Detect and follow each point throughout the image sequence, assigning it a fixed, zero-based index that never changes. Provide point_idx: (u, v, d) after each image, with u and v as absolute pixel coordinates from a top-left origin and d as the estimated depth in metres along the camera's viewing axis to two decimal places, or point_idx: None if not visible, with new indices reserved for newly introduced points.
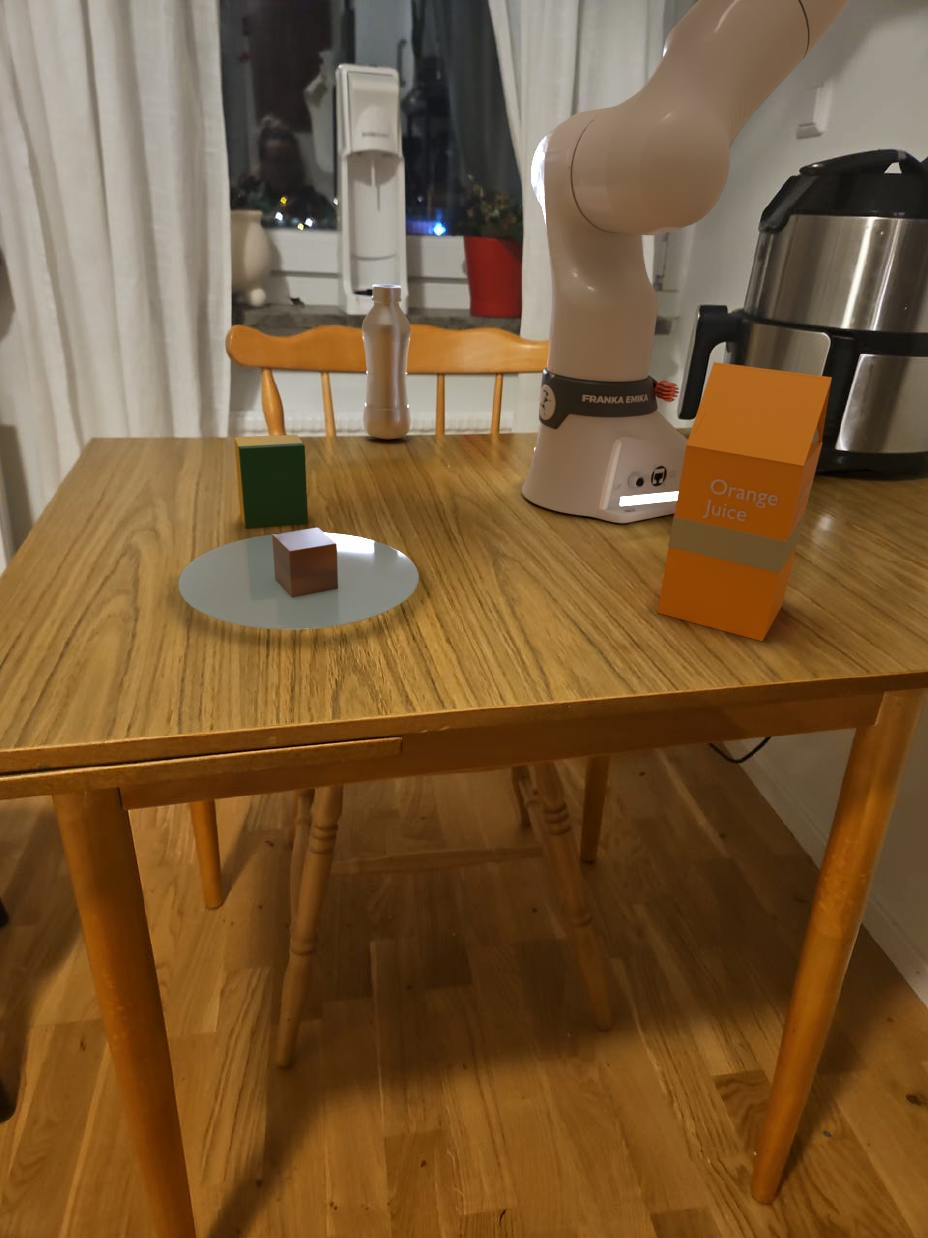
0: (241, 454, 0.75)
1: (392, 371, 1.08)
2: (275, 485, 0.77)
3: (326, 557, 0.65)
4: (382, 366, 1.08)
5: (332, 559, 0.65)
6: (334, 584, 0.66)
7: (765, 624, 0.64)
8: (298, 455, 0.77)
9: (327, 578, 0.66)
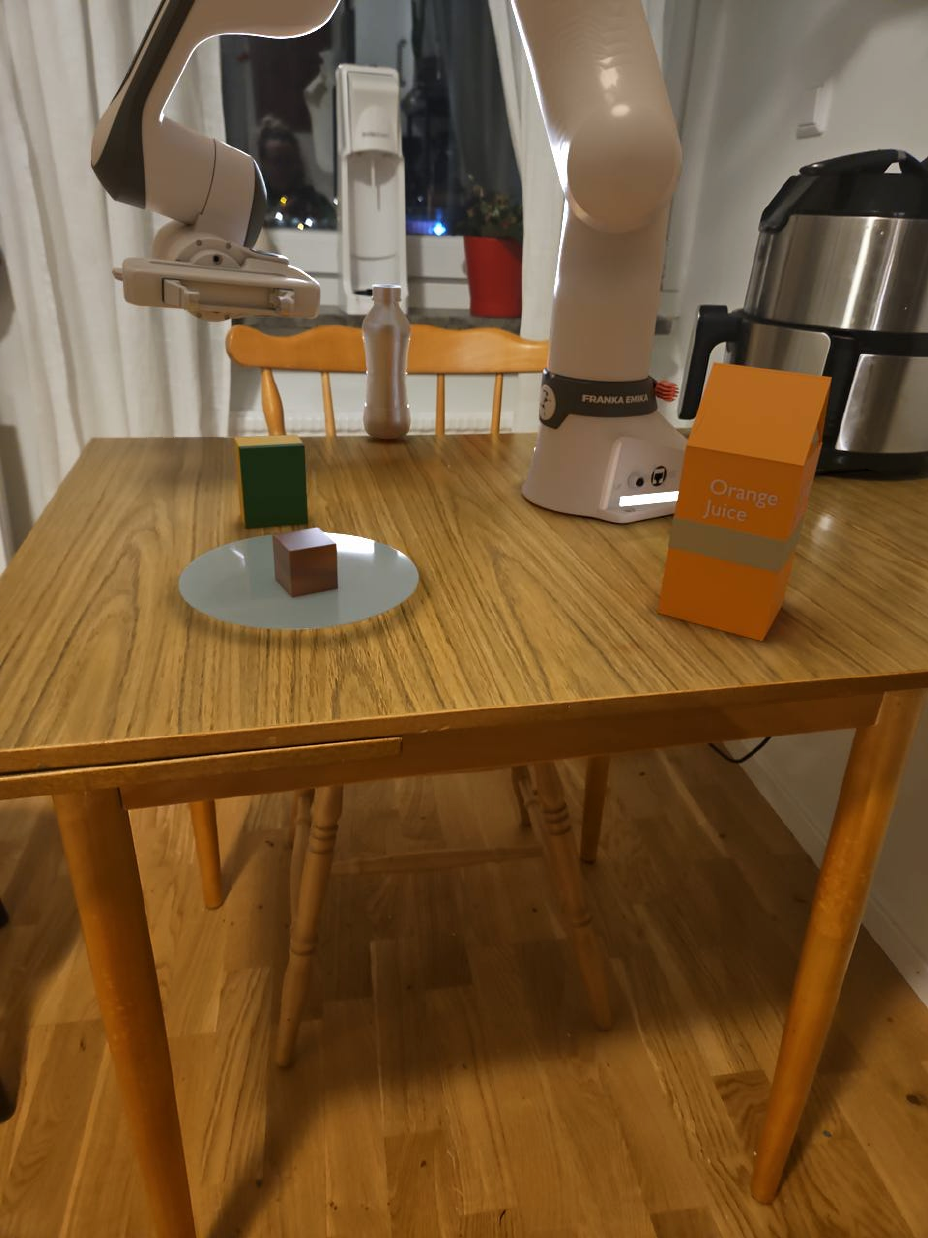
0: (241, 454, 0.75)
1: (392, 371, 1.08)
2: (275, 485, 0.77)
3: (326, 557, 0.65)
4: (382, 366, 1.08)
5: (332, 559, 0.65)
6: (334, 584, 0.66)
7: (765, 624, 0.64)
8: (298, 455, 0.77)
9: (327, 578, 0.66)
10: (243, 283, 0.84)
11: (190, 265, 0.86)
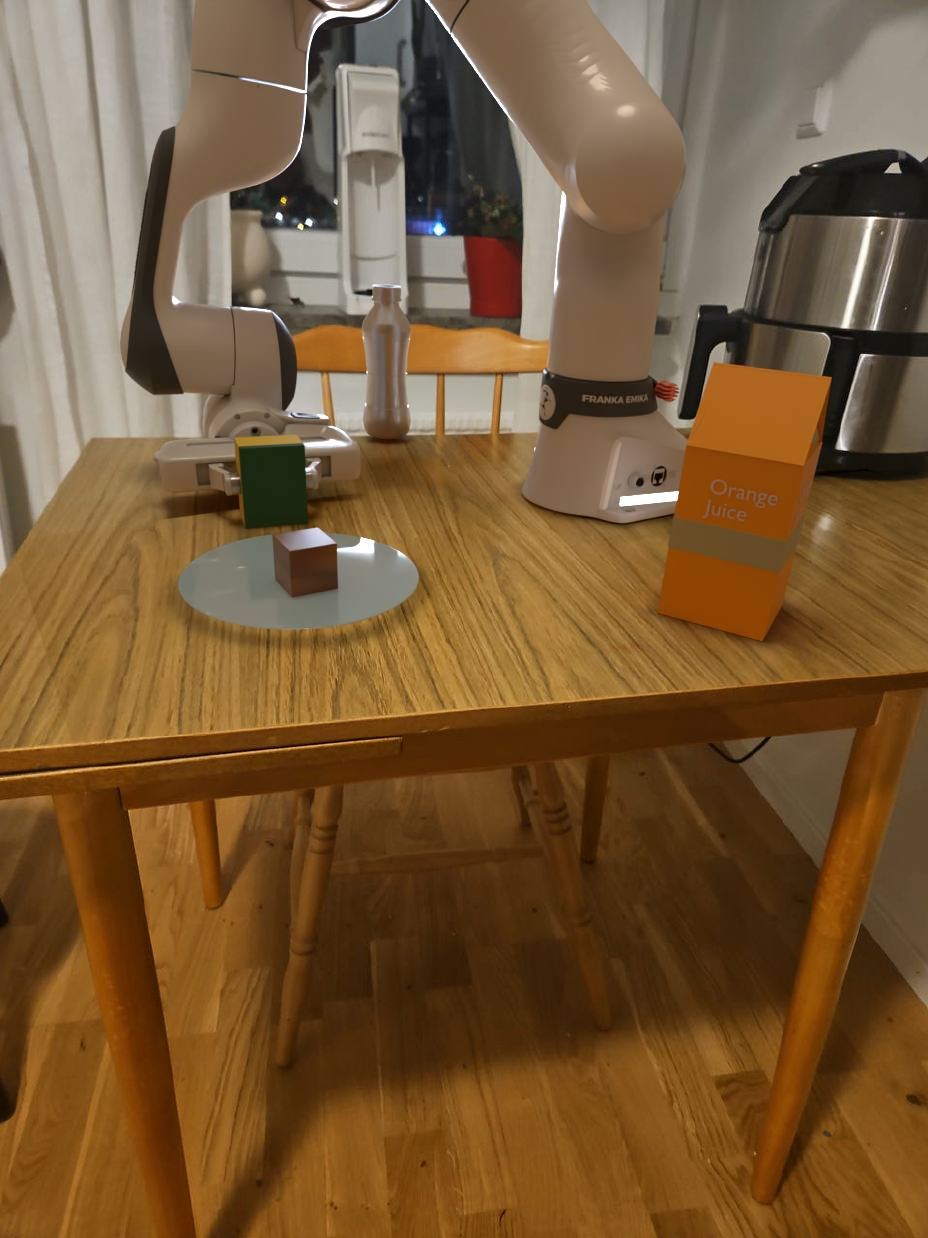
0: (241, 454, 0.75)
1: (392, 371, 1.08)
2: (275, 485, 0.77)
3: (326, 557, 0.65)
4: (382, 366, 1.08)
5: (332, 559, 0.65)
6: (334, 584, 0.66)
7: (765, 624, 0.64)
8: (298, 455, 0.77)
9: (327, 578, 0.66)
10: None
11: (228, 441, 0.85)
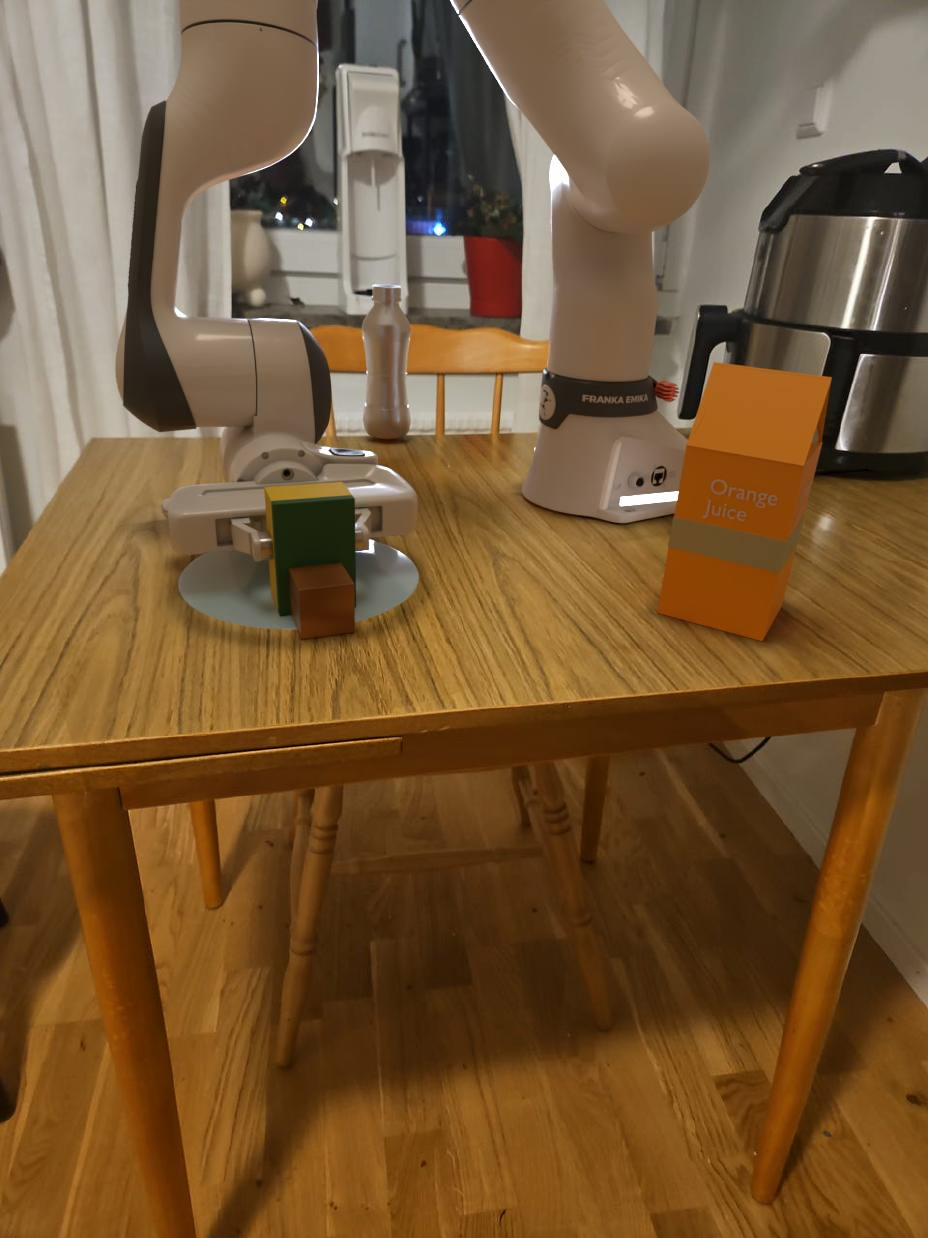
0: (275, 511, 0.58)
1: (392, 371, 1.08)
2: (317, 549, 0.60)
3: (341, 598, 0.58)
4: (382, 366, 1.08)
5: (348, 600, 0.59)
6: (350, 627, 0.60)
7: (765, 624, 0.64)
8: (346, 511, 0.60)
9: (342, 620, 0.59)
10: None
11: (254, 487, 0.68)
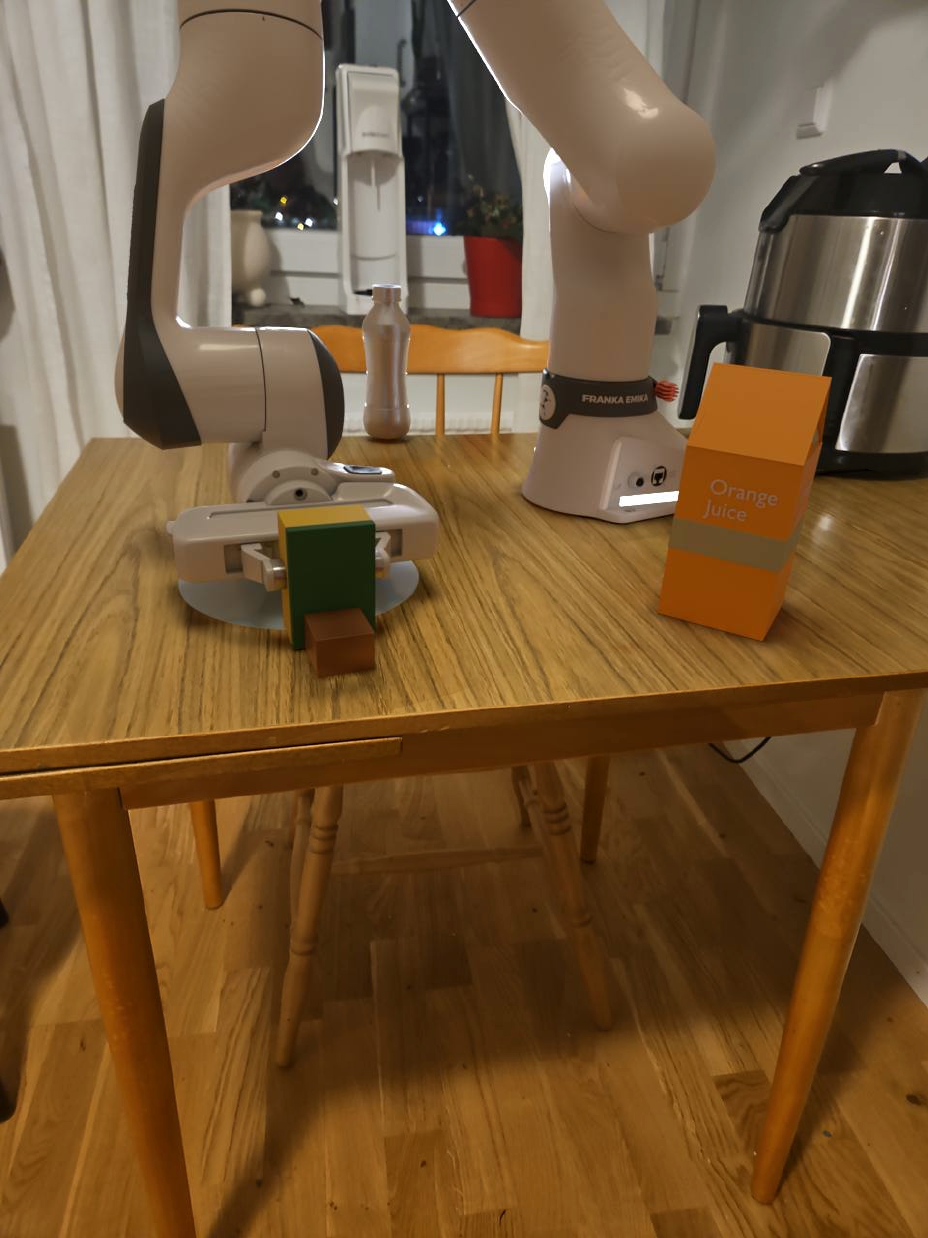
0: (289, 539, 0.53)
1: (392, 371, 1.08)
2: (334, 578, 0.56)
3: (361, 648, 0.55)
4: (382, 366, 1.08)
5: (368, 650, 0.55)
6: None
7: (765, 624, 0.64)
8: (366, 537, 0.55)
9: None
10: None
11: (265, 508, 0.64)
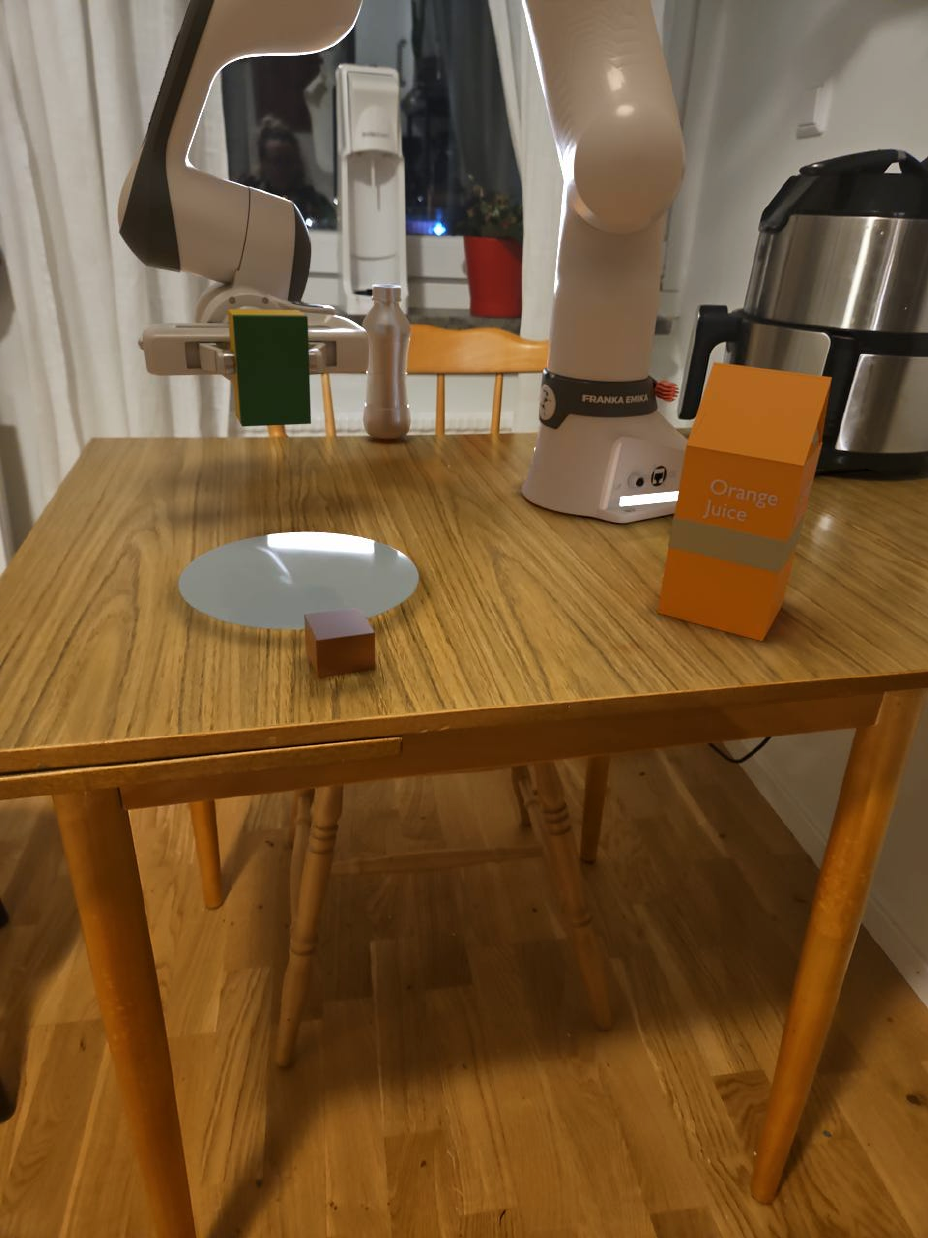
0: (236, 323, 0.66)
1: (392, 371, 1.08)
2: (274, 363, 0.68)
3: (361, 648, 0.55)
4: (382, 366, 1.08)
5: (369, 650, 0.55)
6: None
7: (765, 624, 0.64)
8: (300, 328, 0.68)
9: None
10: None
11: (222, 326, 0.76)
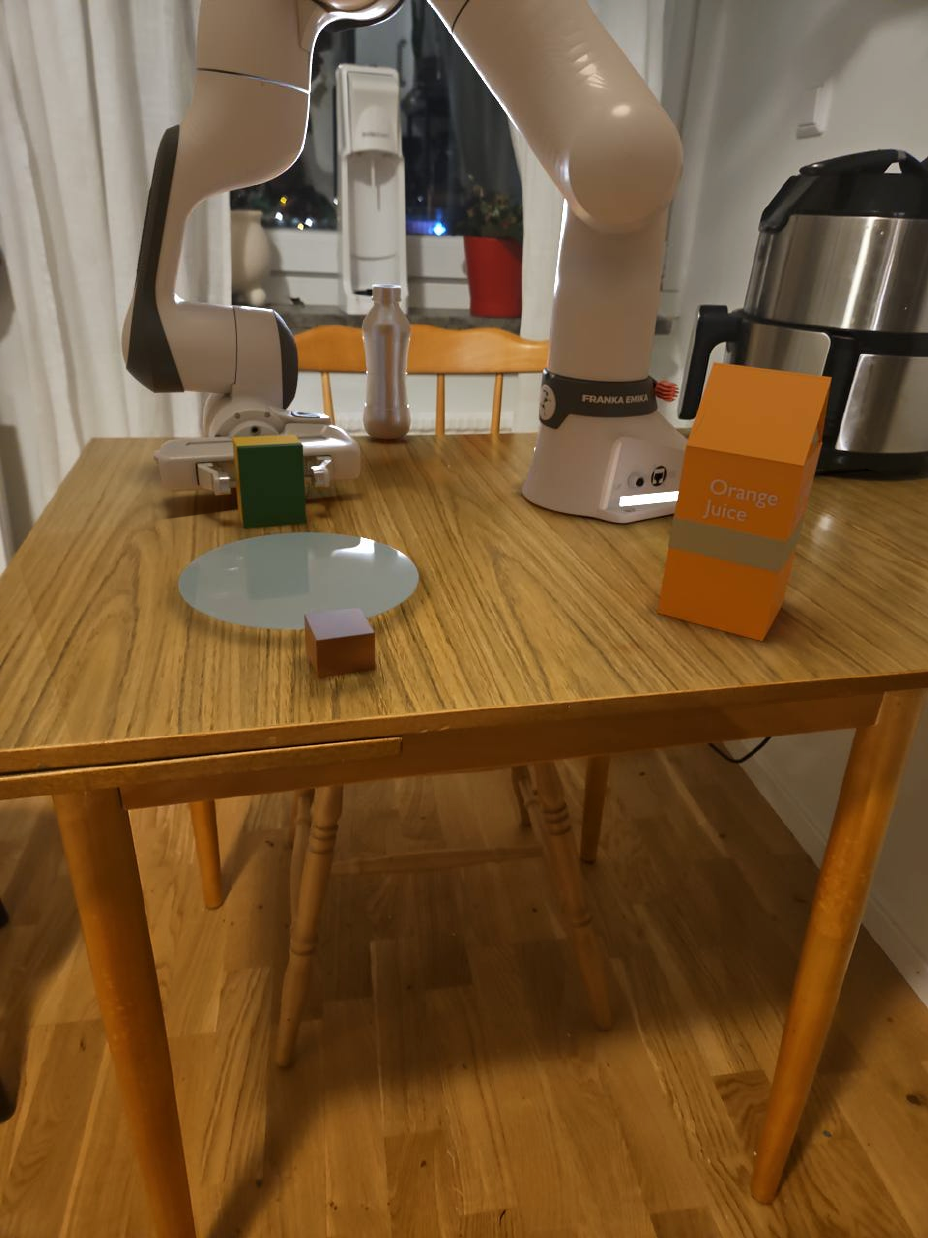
0: (239, 454, 0.75)
1: (392, 371, 1.08)
2: (273, 485, 0.77)
3: (361, 648, 0.55)
4: (382, 366, 1.08)
5: (369, 650, 0.55)
6: None
7: (765, 624, 0.64)
8: (296, 455, 0.77)
9: None
10: None
11: (228, 440, 0.85)
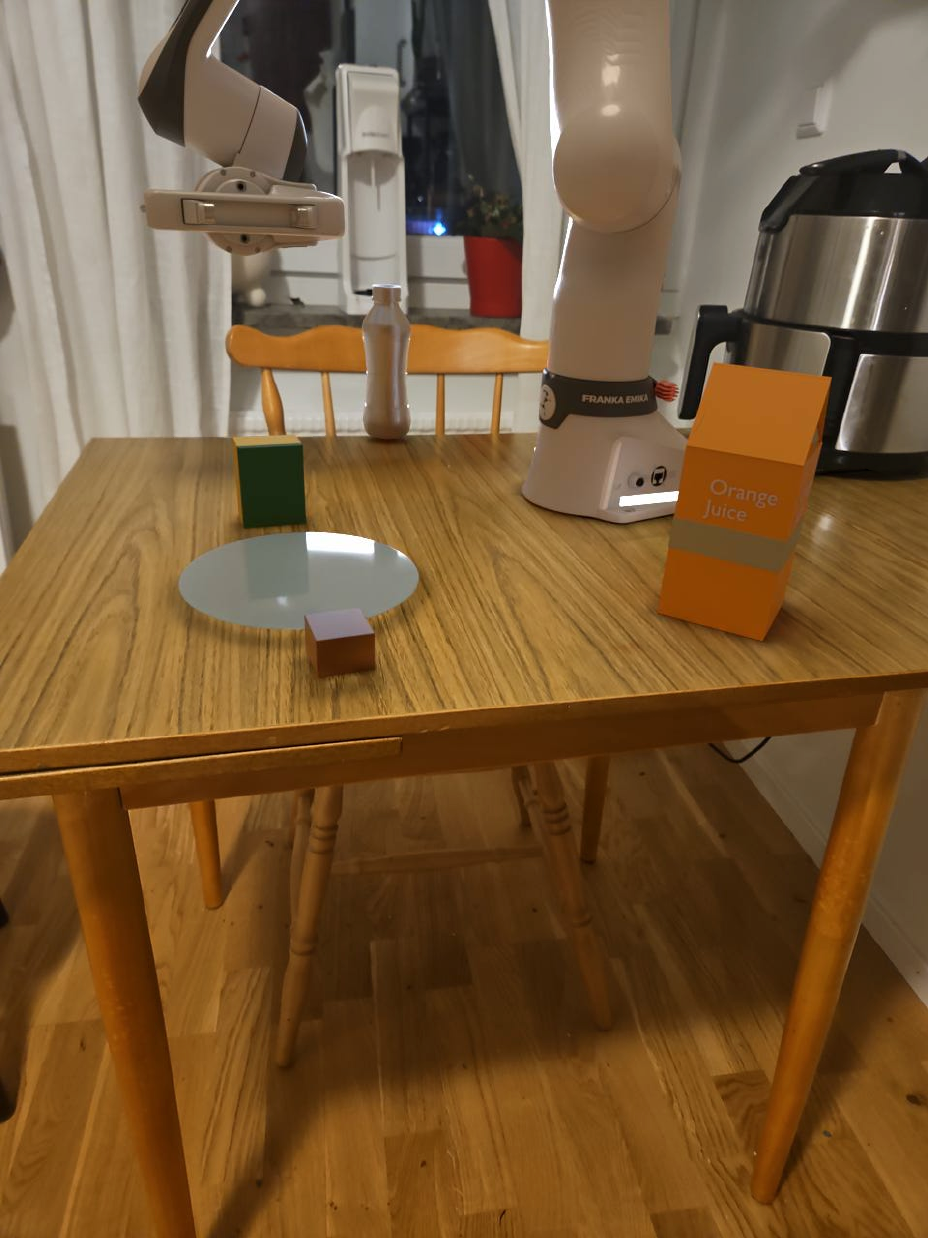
0: (239, 454, 0.75)
1: (392, 371, 1.08)
2: (273, 485, 0.77)
3: (361, 648, 0.55)
4: (382, 366, 1.08)
5: (369, 651, 0.55)
6: None
7: (765, 624, 0.64)
8: (296, 455, 0.77)
9: None
10: (263, 200, 0.83)
11: None
